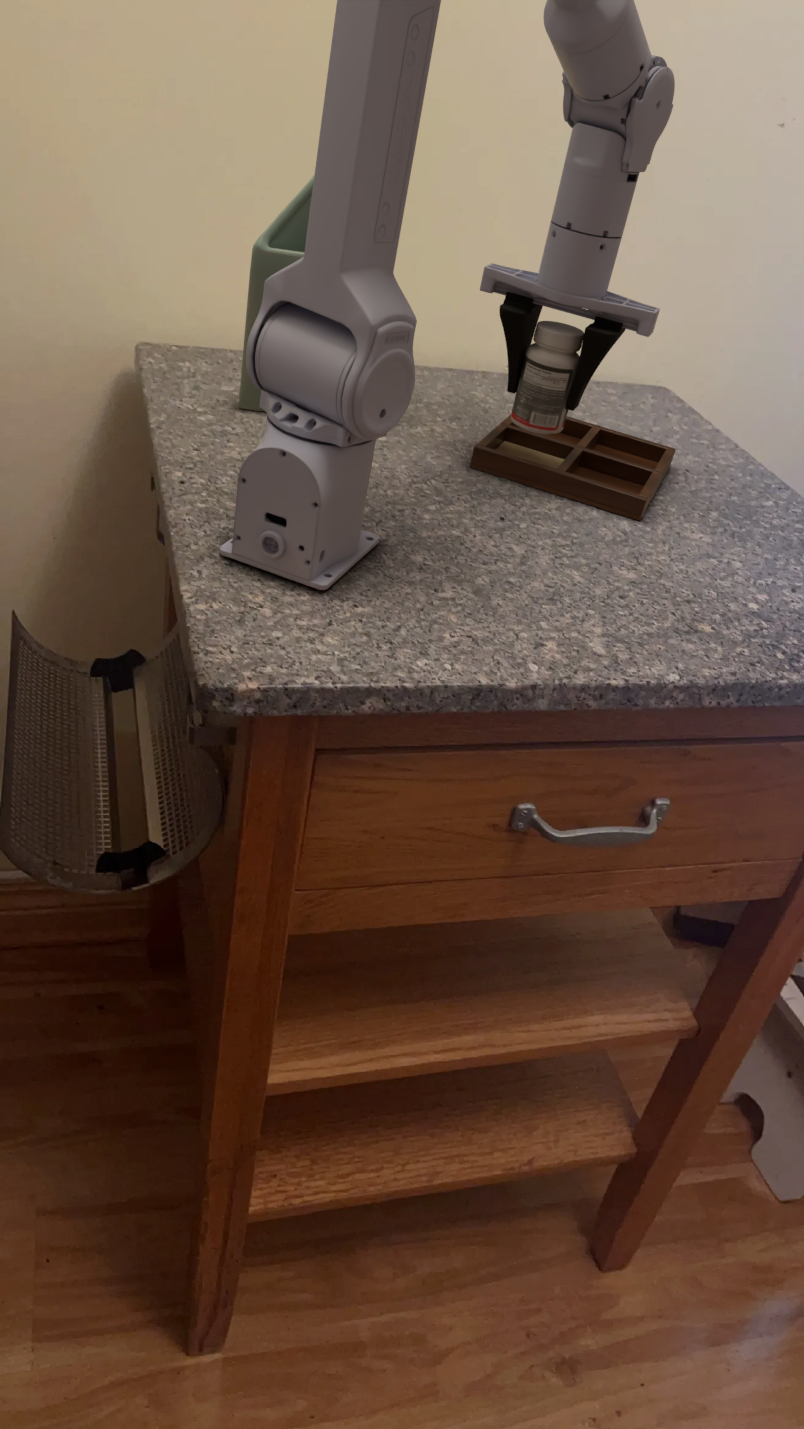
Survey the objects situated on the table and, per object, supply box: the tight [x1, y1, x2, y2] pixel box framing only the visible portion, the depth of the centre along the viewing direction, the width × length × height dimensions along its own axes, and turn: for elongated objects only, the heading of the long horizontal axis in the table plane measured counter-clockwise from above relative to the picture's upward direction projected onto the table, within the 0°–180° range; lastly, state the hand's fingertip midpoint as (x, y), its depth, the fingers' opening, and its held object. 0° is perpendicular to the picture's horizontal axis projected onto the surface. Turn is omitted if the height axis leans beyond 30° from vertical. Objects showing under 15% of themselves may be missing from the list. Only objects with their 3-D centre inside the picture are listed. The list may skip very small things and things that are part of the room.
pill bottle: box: [510, 320, 585, 434], centre depth 88 cm, size 5×5×8 cm
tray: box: [469, 414, 677, 522], centre depth 94 cm, size 15×15×2 cm
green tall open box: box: [238, 175, 314, 413], centre depth 91 cm, size 16×8×20 cm, turn 143°
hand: (543, 398), depth 89 cm, fingers closed on pill bottle, 5 cm apart
